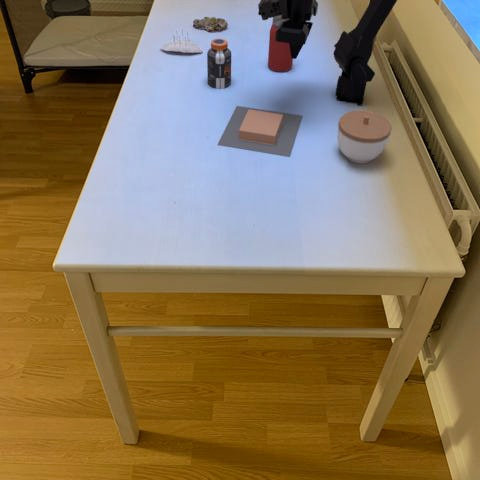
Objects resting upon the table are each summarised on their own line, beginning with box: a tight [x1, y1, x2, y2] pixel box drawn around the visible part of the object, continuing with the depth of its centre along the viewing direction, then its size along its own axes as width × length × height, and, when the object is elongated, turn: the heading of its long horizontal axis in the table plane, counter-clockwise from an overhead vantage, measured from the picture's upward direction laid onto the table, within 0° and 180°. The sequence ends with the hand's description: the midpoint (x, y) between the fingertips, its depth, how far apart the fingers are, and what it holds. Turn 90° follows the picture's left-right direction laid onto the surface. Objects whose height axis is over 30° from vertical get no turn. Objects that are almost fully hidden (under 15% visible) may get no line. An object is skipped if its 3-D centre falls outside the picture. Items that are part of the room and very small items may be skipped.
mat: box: [217, 105, 303, 158], centre depth 115 cm, size 16×17×1 cm
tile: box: [239, 109, 283, 145], centre depth 113 cm, size 8×2×9 cm
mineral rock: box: [192, 16, 228, 34], centre depth 155 cm, size 11×4×8 cm
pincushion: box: [160, 29, 204, 55], centre depth 141 cm, size 12×6×6 cm, turn 84°
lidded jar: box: [336, 110, 393, 164], centre depth 106 cm, size 11×11×9 cm
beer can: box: [267, 18, 294, 73], centre depth 133 cm, size 7×7×12 cm
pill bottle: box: [206, 38, 232, 90], centre depth 126 cm, size 6×6×11 cm
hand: (293, 58), depth 115 cm, fingers closed
